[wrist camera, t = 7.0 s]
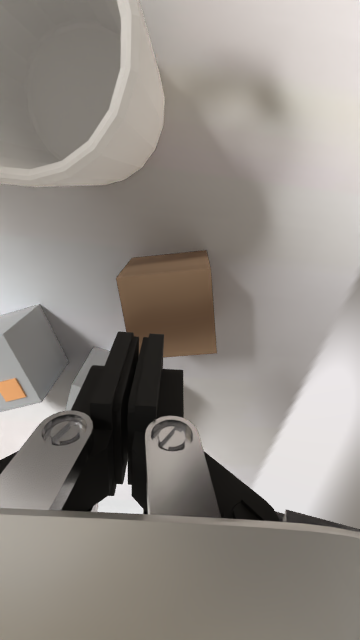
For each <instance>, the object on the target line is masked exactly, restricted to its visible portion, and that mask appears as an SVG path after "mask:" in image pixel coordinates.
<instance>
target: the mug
mask: <svg viewBox="0 0 360 640" xmlns="http://www.w3.org/2000/svg"><path fill="white" fill-rule="evenodd" d="M164 107H165V97H164V92H163V87H162V83H161V78H160V73H159V69H158V66H157V62H156V58H155V55H154V51H153V48H152V44H151V41H150V37H149V33H148V30H147V26H146V23H145V19H144V16H143V12H142V8H141V5H140V1H139V0H0V184H8V185H18V186H29V187H53V186H92V185H107V184H111V183H115V182H119V181H122V180H125V179H126V178H128V177H129V176H131V175H132V174H134V173H135V172H137V171H138V170H139V169H141V168H142V167H143V166H144V164H145V163H146V161H147V160H148V159H149V157H150V156H151V155H152V153H153V152H154V151H155V149H156V146H157V143H158V140H159V137H160V134H161V132H162V129H163V124H164Z"/></svg>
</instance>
